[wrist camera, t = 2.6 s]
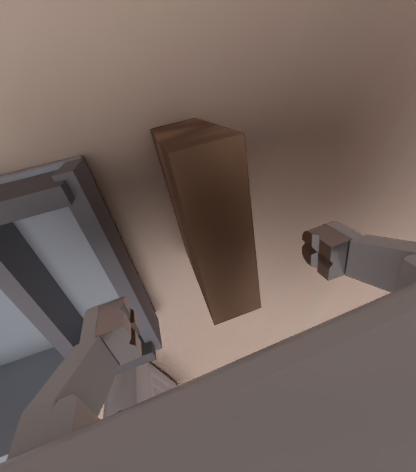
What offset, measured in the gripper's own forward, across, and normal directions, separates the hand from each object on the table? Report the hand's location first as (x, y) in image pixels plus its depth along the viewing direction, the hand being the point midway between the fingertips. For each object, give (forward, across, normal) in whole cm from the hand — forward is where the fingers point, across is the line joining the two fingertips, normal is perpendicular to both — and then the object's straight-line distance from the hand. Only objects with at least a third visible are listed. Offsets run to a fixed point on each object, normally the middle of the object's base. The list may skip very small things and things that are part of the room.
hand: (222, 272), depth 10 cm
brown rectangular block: (+9, -1, 0) cm, 9 cm away
